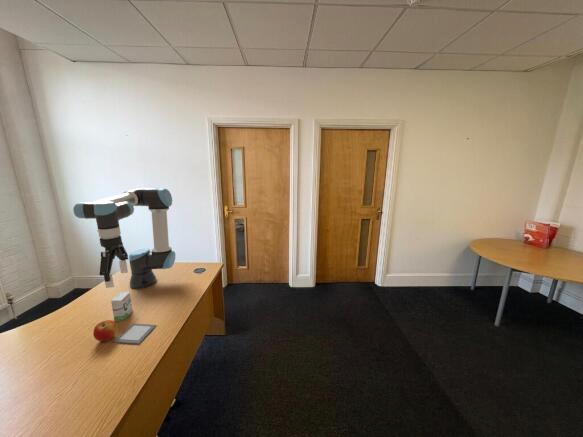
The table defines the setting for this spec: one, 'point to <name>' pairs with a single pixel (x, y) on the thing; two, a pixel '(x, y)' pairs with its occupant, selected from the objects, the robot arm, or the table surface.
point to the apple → (105, 330)
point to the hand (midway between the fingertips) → (117, 279)
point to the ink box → (121, 306)
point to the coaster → (135, 334)
